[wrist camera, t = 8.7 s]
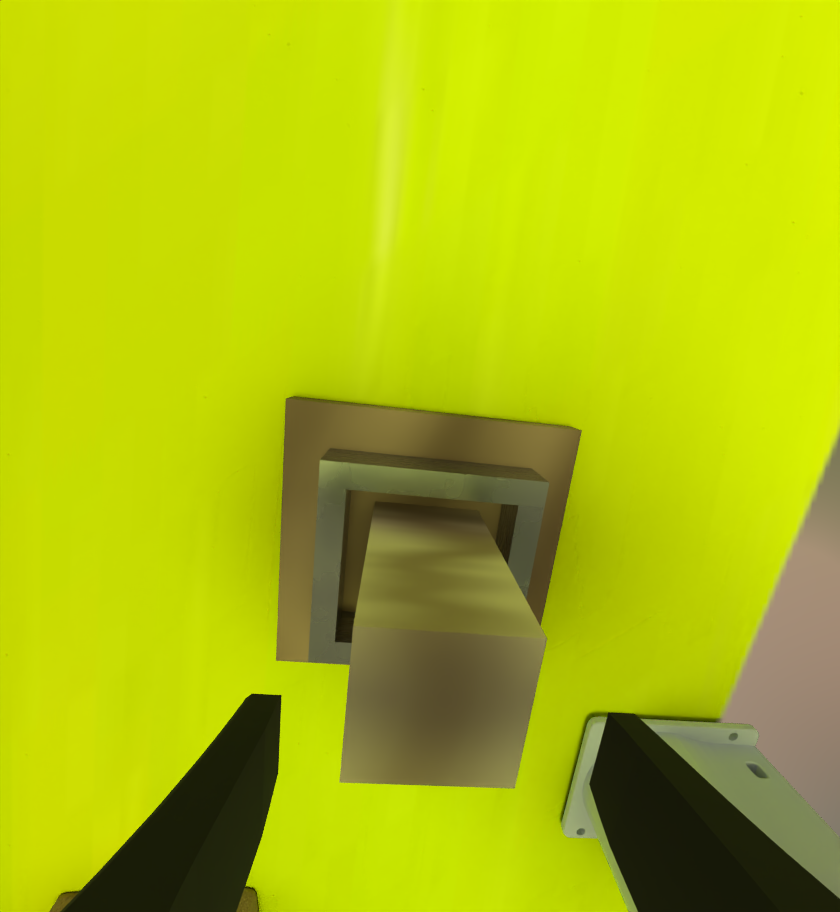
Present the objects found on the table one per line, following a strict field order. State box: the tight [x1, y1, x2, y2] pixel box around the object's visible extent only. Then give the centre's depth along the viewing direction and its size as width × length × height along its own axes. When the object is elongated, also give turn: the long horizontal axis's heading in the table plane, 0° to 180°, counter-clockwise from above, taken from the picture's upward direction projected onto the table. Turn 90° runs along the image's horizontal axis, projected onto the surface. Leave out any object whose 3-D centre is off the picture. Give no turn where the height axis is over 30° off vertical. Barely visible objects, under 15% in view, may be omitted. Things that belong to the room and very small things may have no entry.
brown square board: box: [276, 397, 581, 665], centre depth 17 cm, size 12×12×1 cm
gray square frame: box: [308, 448, 549, 664], centre depth 16 cm, size 8×8×2 cm
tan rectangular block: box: [340, 501, 547, 788], centre depth 13 cm, size 4×4×8 cm
